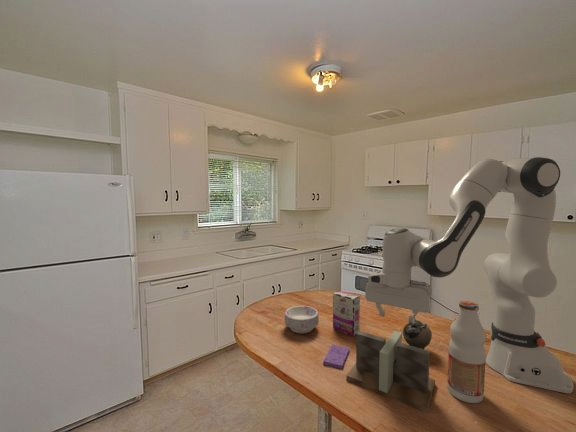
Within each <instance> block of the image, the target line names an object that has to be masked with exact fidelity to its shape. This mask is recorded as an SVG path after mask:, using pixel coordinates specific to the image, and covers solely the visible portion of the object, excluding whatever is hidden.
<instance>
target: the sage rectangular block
mask: <svg viewBox="0 0 576 432" xmlns="http://www.w3.org/2000/svg"><path fill="white" fill-rule="evenodd" d="M398 342H400V343H403V331H402V332H401V331H397V330H394V331H393V332H392V333H391V335H390V337H389V338H388V339H387V340H386V343H385V345H384V346H383V348H382V349H381V351H380V357H379V390H380V391H383V392H385V393H388V391H389V389H390V387H391V385H392V383H393V362H394V361H395V359H396V345H397V344H398Z"/></svg>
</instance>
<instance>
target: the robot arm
mask: <svg viewBox="0 0 576 432" xmlns="http://www.w3.org/2000/svg"><path fill="white" fill-rule="evenodd" d="M560 178H561V169H560V167H559V165H558V163H557V162H556V161H555V160H553V159H551V158H549V157H548V158H547V157H542V156H540V157H539V156H538V157H537V156H535V157H520V158H519V157H518V158H513V159H509V160H508V159H507V160H497V159H494V158H484V159H482V160H480V161H478V162H477V163H476V164H475V165H473V166H472V167H471V168H470V169H469V170H468V171H467V172H466V173H464V175H463V176H462V177H461V178H460V179H459V180H458V181H457V183H456V184H455V185H454V187H453V188H452V190H451V191H450V193H449V196H448V203H449V206H450V207H451V208H452V210H453V211H454V212H455V213H456V215H455V219H454V221H453V222H452V223H451V225H450V226H449V228H448V229H447V231H446V232H445V234H444V235H443V237H442V238H441V239H438V240H433V239H430V238H426V237H423V236H420V235H418V234H415V233H414V232H413V231H410V230H409V228H404V227H402V228H401V227H400V228H392V229H389V230H388V231H386V232H385V233H384V236H383V239H382V259H383V263H382V264H383V265H382V267H381V269H382V270H377V271H373V272H372V273H370V274H369V275H368V276H367V281H368V282H367V283H366V287H365V290H364V292H365V293H364V296H365V300H366V301H367V302H369V303H375V307H376V308H377V311H378V313H379V314H378V315H379V317H385V316H386V310H385V309H383V308H382V305H385V306H390V307H396V308H399V309H403V310H404V309H405V310H410V311H412V315H409V316H408V322H409V323H414V322H415V319H416V317H417V315H418V313H424V314H427V313H428V312H430V310H431V308H432V303H431V296H432V293H433V291H432V290H433V289H432V286H431V285H430V284H428V283H427V282H425V281H418V280H414V279H413V280H412V268H413V267H417V268H419V269H421V270H423V271H424V272H425V273H427V274H428V275H429V276H430V277H433V278H445V277H448V276H450V275H451V274H453V272H455V270H456V269H457V267H458V265H459V262H460V260H461V257H462V254H463V252H464V250H465V248H466V247H467V245H468V244H469V243H470V241H471V239H472V238H473V236H474V235H475V234H476V232H477V230H478V229H479V227H480V225H481V224H482V223H483V220H484V218H485V216H486V209H487V207H488V206H489V204H490V203H491V202H492V201H493V199H494V198H495V197H496V196H497V194H498V193H511V194H512V195H513V202H512V203H513V204H512V205H511V209H510V211H509V217H508V220H507V225H506V228H505V232H504V238H505V240H506V242H507V245H508V252H495V253H491V254H489V255H488V256H487V257H486V258H485V260H484V262H483V269H484V271H485V272H486V275H487V276H488V280H489V284H490V287H491V294H492V298H493V317H492V318H493V321H492V322H491V325H490V341H491V342H490V346H489V350H488V352H487V355H486V361H485V364H487V366H489V368H491V369H493V370H494V371H495V372H497V373H499V374H501V375H502V376H503V377H504V378H505V379H506V380H508V381H509V382H513V383H517V384H522V385H527V386H530V387H536V388H541V389H544V390H549V391H554V392H558V393H559V392H560V393H562V394H563V393H564V394H571V393H573V392H574V382H573V380H572V378H571V377H570V376H569V374H568V373H567V372H565V371H564V368H563V364H562V362H561V360H560V359H559V358H558V357H557V356H556V355H555V354H554V353H552V351H550V350H549V349H548V348H546V347H545V346H546V345H547V344H546V341H545V340H544V339H543V337H542V336H541V335H540V333H539V331H535V321H536V309H535V306H534V304H533V303H532V302H531V300H530V298H531V297H533V298H539V299H541V298H546V297H548V296H550V295H551V294H552V293H553V292H554V291H555V290H556V288H557V285H558V280H557V277H556V275H555V273H554V272H553V270H552V269H551V266H550V261H549V255H548V254H549V253H548V243H549V238H550V234H551V230H552V225H553V222H554V218H555V213H556V212H555V211H556V203H557V194H556V191H555V188H556V186H557V185H558V183H559V181H560Z"/></svg>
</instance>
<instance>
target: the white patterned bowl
mask: <svg viewBox="0 0 576 432" xmlns="http://www.w3.org/2000/svg"><path fill="white" fill-rule="evenodd" d="M284 311H285V312H284V323H285V326H286V327H288V328H290V330H291V331H292V332H293V333H295V334H296V333H297V334H307V333H310V332H312V331H313V330H314V328H316V327H317V326H318V325H319V310H317V309H316V308H314V307H313V306H309V305H296V306H291V307H288V308H287V309H286V310H284Z"/></svg>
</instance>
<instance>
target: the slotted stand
mask: <svg viewBox="0 0 576 432" xmlns="http://www.w3.org/2000/svg"><path fill="white" fill-rule="evenodd" d="M355 336H356V341H355V342H356V343H355V345H356V348H355V349H356V350H355V351H356V352H355V359H356V360H355V363H354V365H353V366H352V368H350V370H349V371H348V372H347V374H345V375H346V377H345V378H346V381H349V382H351V383H354V384H355V385H358V386H361V387H363V388H366V389H368V390H370V391H374V392H376V393H378V394H380V395H383V396H386V397H387V398H391V399H393V400H396V401H397V402H400V403H403V404H405V405H407V406H411V407H412V408H416V409H418V410H420V411H422V412H425V413H427V412H428V410H429V406H430V404H431V399H432V396H433V393H434V389H435V386H436V379H434V378H430V350H427V349H425V348H424V349H425V350H424V349H421V348H417V347H414V346H410V345H409V344H408V343H407V344H406V343H403V342H402V343H400V342H398V344H397V345H396V359H395V361H394V362H393V383H392V385H391V387H390V389H389V391H388V393H385V392H383V391H380V390H379V357H380V351H381V349H382V348H383V346H384V345H385V343H386V342H387V339H386V337H383V336H379V335H375V334H372V333H369V332H365V331H362V330H359V332H358V333H357V334H356V335H355Z"/></svg>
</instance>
